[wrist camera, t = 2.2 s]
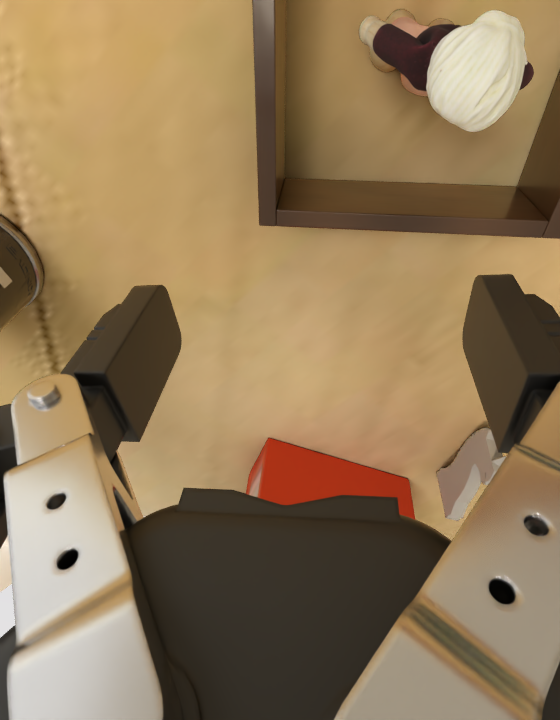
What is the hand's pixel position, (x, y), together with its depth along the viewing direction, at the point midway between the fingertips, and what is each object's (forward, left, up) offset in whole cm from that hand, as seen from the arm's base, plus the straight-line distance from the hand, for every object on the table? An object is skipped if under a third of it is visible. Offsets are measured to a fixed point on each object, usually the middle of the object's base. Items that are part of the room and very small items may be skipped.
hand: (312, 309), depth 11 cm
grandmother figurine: (+5, +4, -20) cm, 21 cm away
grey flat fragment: (+17, -30, -20) cm, 40 cm away
